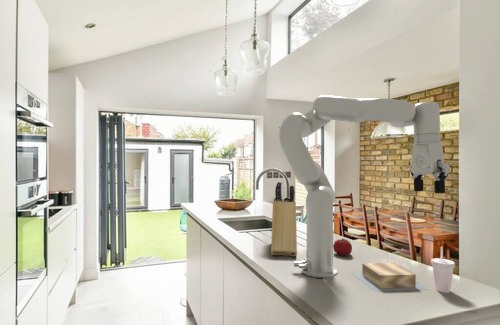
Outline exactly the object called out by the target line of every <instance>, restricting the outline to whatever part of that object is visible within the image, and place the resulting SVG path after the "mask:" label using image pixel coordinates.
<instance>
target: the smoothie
mask: <svg viewBox="0 0 500 325" xmlns="http://www.w3.org/2000/svg"><path fill="white" fill-rule="evenodd" d="M443 248H444V247H443V246H440V258H439V257H436V258H431V260H430V263H431V264H432V272H433V279H434V287H435V288H434V289H435V291H437V292H440V293H443V294H444V293H445V294H446V293H447V294H448V293H450V292H451V288H452V282H453V272H454V268H455V267H456V264H455V263H456V262H454V261H453V260H450V259H446V258H444V256H443V255H444V253H443V252H444V250H443Z"/></svg>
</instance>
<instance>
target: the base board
mask: <svg viewBox="0 0 500 325" xmlns="http://www.w3.org/2000/svg"><path fill="white" fill-rule="evenodd" d="M351 274H352V275H354V276H355V277H356V278H357V279H358V280H360V281H361V282H362V283H363V284H364V285H366V286H367V287H369V288H370V289H371V290H372V291H374V292H386V291H387V292H388V291H418V290H419V291H420V290H421V291H422V290H425V291H426V290H428V287H425V286H424V285H422V284H420V283H418V282H417V281H416V287H400V288H379V287H378V286H377V285H375V284H374V283H373V282H371V281H370V280H369V279H367V278H366V277H365V276H363V275H362V272H352V273H351Z"/></svg>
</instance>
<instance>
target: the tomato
mask: <svg viewBox="0 0 500 325" xmlns="http://www.w3.org/2000/svg"><path fill="white" fill-rule="evenodd" d="M352 251H353V246H352V243H351V242H350V241H349V239H345V238H341V239H337V240H335V241H333V252H334V253H335V254H336V255H338V256H341V257H342V256H343V257H346V256H349V255H351V253H352Z"/></svg>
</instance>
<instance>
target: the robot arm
mask: <svg viewBox="0 0 500 325" xmlns="http://www.w3.org/2000/svg"><path fill="white" fill-rule="evenodd" d="M440 116H441V114H440V105H439V103H438V102H436V101H423V102H418V103H416V104H415V105H414V104H413V103H412V102H410V101H407V100H403V99H394V98H383V97H382V98H380V97H377V98H375V97H374V98H358V97H347V96H346V97H345V96H336V95H326V94H325V95H319V96H318V97H316V98H315V100H313V103H312V109H310V110H308V111H307V112H306V113H304V114H302V113H300V112H293V113H290V114H289V115H287V116H286V117H285V119H283V121H282V123H281V124H280V125H281V126H280V128H279V133H278V134H279V135H278V136H279V138H278V139H279V142H280V146H281V149H282V151H283V152H284V155H285V157H286V159H287V162H288V164H289V166H290V168H291V170H292V172H293V175H294V176H295V179H296V181H297V182H298V183H299V184H301V185H303V186H304V187H305V190H306V192H307V194H306V197H305V210H306V211H305V212H306V213H305V214H306V215H305V216H306V257H304V258H303V260H301V261H299V260H298V261H295V260H294V261H293V267H294V268H297V267H298V269H301V272H302V273H303V274H305V275H306V276H308V277H311V278H317V279H324V278H332V277H335V276H337V275H338V269H336V267H334V248H333V245H334V204H335V201H336V194H335V191H334V189H333V187H332V185H331V182H330V180H329V179H328V177H327V175H326V173H325V170H324V169H323V168H322V166H321V165H320V164H319V163H318V162H316V161H314V159H313V157H312V156H311V154H310V151H309V150H308V147H307V146H306V144H305V142H304V138H308V137H309V136H311V135H312V134H314V133H315V132H317V131H318V130H320V129H321V128H323V127H325V126H326V125H327V124H328V123H330V122H331V121H340V122H346V123H347V122H349V123H363V122H369V121H370V122H371V121H375V122H385V123H389V124H390V125H391V126H392V127H394V128H405V127H412V126H413V142H414V143H413V144H414V145H413V146H412V153H411V165H410V166H409V171H410V175H411V178H412V180H413V191H414V192H423V191H424V190H425V189H424V187H425V186H424V179H423V177H424V176H425V175H432V176H433V178H434V179H435V180H434V182H433V183H434V184H433V185H434V189H433V190H434V193H435V194H445V193H446V182H445V181H447V177H448V176H449V172H450V170H451V166H450V165H448V164H447V163H445V158H444V151H443V146H442V143H441V120H440V119H441V118H440Z"/></svg>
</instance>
